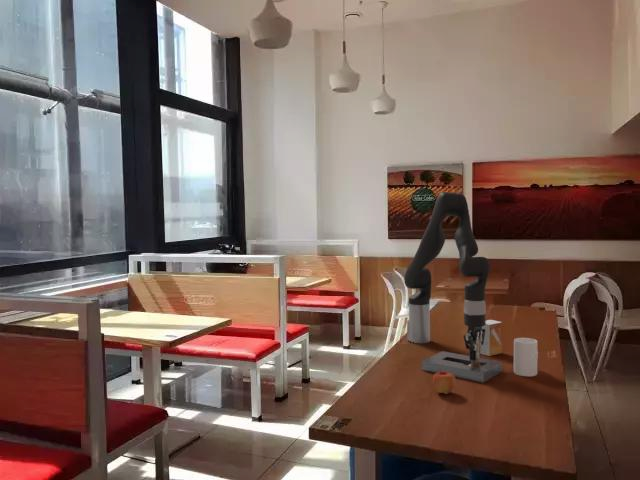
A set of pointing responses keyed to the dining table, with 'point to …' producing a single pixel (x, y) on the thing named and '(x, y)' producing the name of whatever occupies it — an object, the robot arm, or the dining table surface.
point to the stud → (477, 361)
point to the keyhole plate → (462, 366)
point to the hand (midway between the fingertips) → (474, 358)
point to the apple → (444, 382)
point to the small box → (492, 338)
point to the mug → (525, 356)
